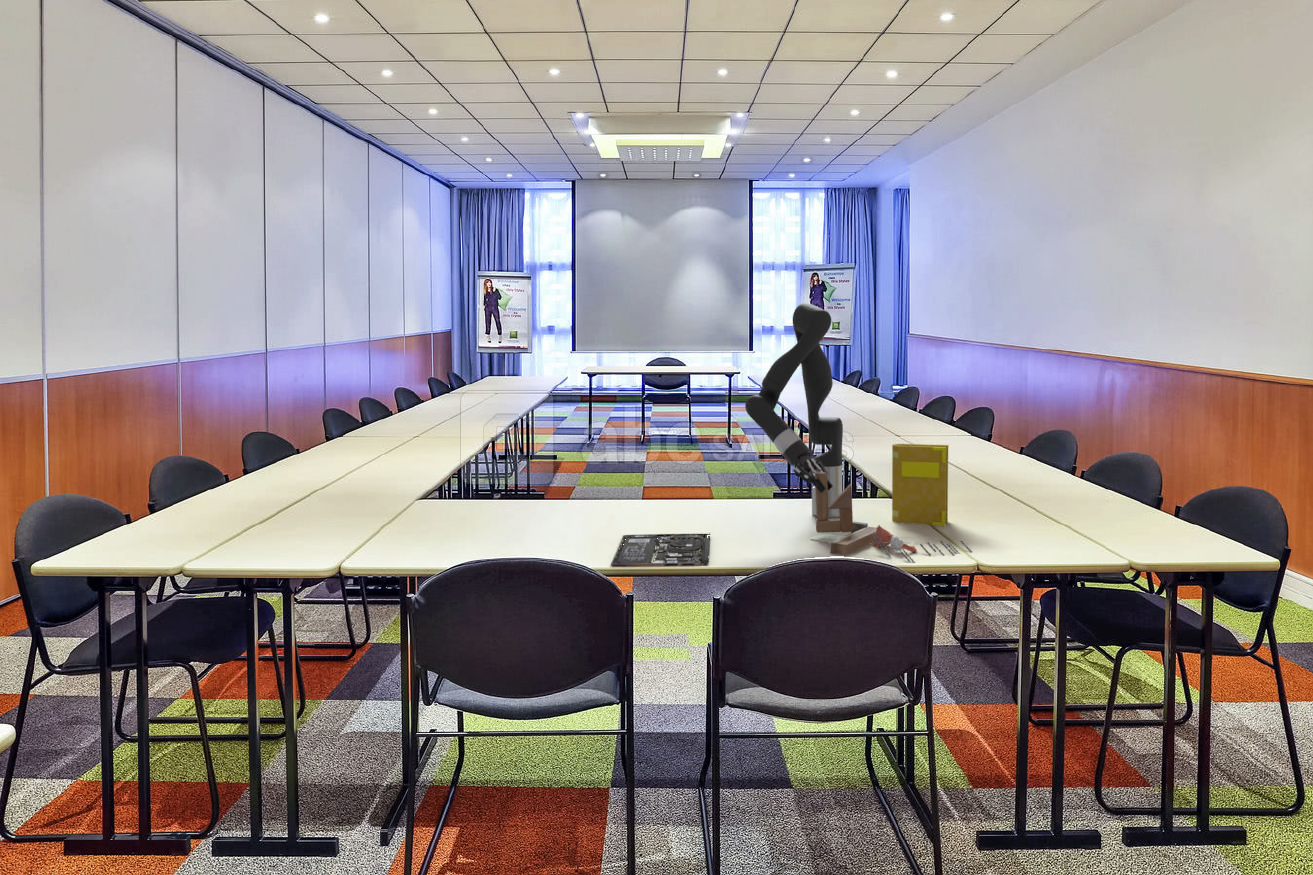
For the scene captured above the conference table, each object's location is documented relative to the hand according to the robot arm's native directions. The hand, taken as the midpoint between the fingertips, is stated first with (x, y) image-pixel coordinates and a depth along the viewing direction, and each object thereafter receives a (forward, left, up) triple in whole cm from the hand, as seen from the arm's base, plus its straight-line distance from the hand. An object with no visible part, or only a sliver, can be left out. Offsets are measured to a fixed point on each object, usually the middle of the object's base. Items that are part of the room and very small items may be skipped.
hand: (826, 489), depth 281 cm
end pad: (+2, 0, -15) cm, 15 cm away
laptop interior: (-34, -37, -16) cm, 53 cm away
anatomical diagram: (+30, 0, -16) cm, 34 cm away
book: (+14, +35, -15) cm, 41 cm away
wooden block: (+2, +1, -13) cm, 13 cm away
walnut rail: (+9, -3, -15) cm, 18 cm away
